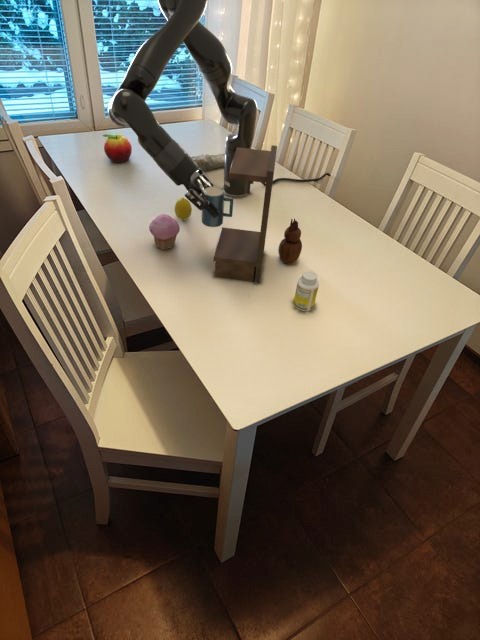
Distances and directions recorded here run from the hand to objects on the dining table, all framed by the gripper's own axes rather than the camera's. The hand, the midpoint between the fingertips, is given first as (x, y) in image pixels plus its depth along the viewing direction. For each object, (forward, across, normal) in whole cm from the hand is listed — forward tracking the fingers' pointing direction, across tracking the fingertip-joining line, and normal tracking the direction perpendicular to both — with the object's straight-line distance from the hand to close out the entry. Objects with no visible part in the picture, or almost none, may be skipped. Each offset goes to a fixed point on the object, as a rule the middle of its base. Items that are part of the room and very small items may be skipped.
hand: (218, 209), depth 120 cm
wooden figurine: (+27, +5, -3) cm, 28 cm away
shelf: (+16, 0, +8) cm, 18 cm away
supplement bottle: (+31, -15, -6) cm, 35 cm away
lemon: (+2, +21, +22) cm, 31 cm away
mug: (+2, 0, +3) cm, 4 cm away
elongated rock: (+5, +67, +20) cm, 70 cm away
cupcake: (+1, +5, +24) cm, 25 cm away
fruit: (-23, +62, +47) cm, 81 cm away
